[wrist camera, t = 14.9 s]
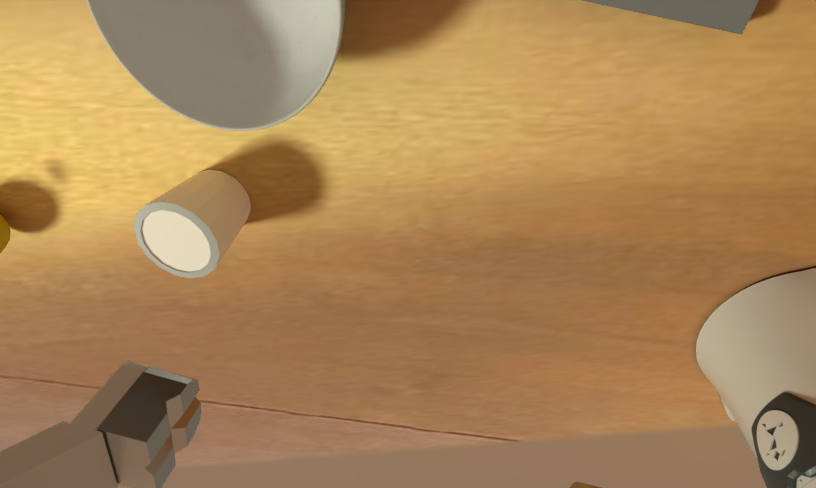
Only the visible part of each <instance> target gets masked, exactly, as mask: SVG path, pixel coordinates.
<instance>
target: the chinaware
mask: <svg viewBox="0 0 816 488" xmlns="http://www.w3.org/2000/svg"><path fill="white" fill-rule="evenodd" d="M86 1H87V4H88V6H89V9H90V11H91V14H92V16H93V18H94V21H95V23H96V25H97V27H98V29H99V31H100V33H101V34H102V36H103V38H104V40H105V41H106V43H107V45H108V46H109V48H110V49H111V51H112V52H113V54H114V55H115V57H116V58H117V59H118V61H119V62H120V63H121V65H122V66H123V67H124V68H125V69H126V71H127V72H128V73H129V74H130V75H131V76H132V77H133V78H134V79H135V80H136V82H137V83H139V84H140V85H141V86H142V87H143V88H144V89H145V90H146V91H147V92H148V93H149V94H151V95H152V96H153V97H154V98H156V99H157V100H158V101H160V102H161V103H162V104H164V105H165V106H167V107H168V108H170V109H171V110H173V111H175V112H176V113H178V114H180V115H182V116H184V117H186V118H188V119H190V120H193V121H195V122H198V123H200V124H203V125H206V126H210V127H213V128H218V129H223V130H231V131H252V130H259V129H264V128H268V127H271V126H274V125H277V124H280V123H282V122H284V121H286V120H288V119H290V118H291V117H293V116H294V115H296V114H297V113H299V112H300V111H301V110H303V109H304V108H305V107H306V106H307V105H308V104H309V103H310V102H311V101H312V100H313V99H314V98H315V97H316V95H317V94H318V93H319V91H320V90H321V89H322V87H323V86H324V84H325V82H326V81H327V79H328V77H329V75H330V73H331V71H332V69H333V66H334V64H335V61H336V58H337V56H338V52H339V49H340V45H341V41H342V36H343V31H344V23H345V0H86Z"/></svg>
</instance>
